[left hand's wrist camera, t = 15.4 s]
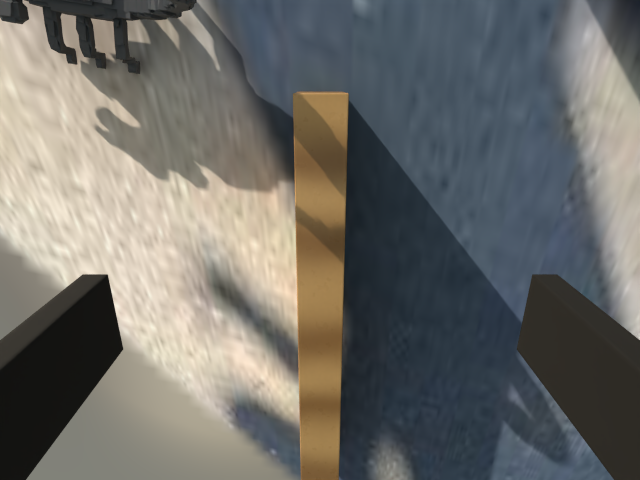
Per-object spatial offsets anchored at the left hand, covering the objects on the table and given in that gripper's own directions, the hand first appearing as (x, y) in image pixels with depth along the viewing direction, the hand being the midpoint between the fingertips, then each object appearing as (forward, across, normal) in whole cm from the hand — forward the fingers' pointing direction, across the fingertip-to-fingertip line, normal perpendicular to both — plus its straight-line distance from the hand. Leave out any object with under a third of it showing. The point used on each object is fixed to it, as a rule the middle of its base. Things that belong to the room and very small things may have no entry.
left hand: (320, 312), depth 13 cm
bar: (+35, 0, -19) cm, 40 cm away
